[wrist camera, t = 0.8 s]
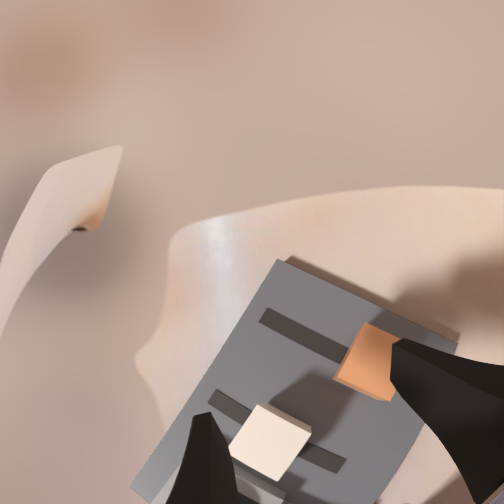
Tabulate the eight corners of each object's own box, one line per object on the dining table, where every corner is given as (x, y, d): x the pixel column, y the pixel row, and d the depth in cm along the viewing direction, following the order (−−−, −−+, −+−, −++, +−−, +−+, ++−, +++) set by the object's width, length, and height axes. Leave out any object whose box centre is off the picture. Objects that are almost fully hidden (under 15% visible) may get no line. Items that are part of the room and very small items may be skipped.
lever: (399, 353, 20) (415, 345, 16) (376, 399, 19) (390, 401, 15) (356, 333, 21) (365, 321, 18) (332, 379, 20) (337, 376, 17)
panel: (450, 346, 20) (468, 339, 17) (297, 575, 13) (294, 593, 10) (279, 265, 27) (274, 248, 24) (137, 483, 20) (117, 490, 16)
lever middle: (311, 426, 19) (311, 433, 15) (283, 467, 18) (277, 481, 14) (265, 402, 20) (256, 404, 17) (238, 442, 19) (224, 451, 16)
